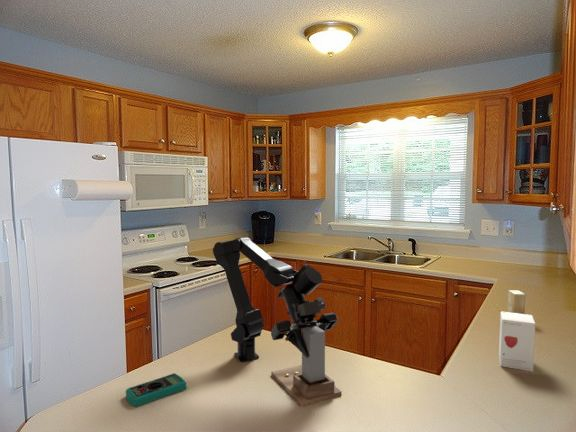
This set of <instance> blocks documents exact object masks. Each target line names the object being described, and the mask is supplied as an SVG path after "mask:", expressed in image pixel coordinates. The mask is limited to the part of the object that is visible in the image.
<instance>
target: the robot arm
mask: <svg viewBox="0 0 576 432" xmlns="http://www.w3.org/2000/svg"><path fill="white" fill-rule="evenodd" d="M212 253H213V256H214V258H215V261H216V262H217V264H218V265H220V267H221V268H223V270H224V273H225V277H226V279H227V283H228V285H229V288H230V292H231V294H232V298H233V303H234V305H235V307H236V316H235V320H234V321H235V325H236V327H235V328H234V330H233V331H232V332H231V333H230V338H231V341H234V342H237V352H234V353H233V355H234V356H235V358H236V359H238V361H239V362H246V361H247V362H248V361H252V360H257V359H259V358H260V356H259V354H258V353H256V338H258V337H260V336H261V334H262V331H263V329H264V328H265V325H264V321H265V320H264V318H263V315H262V311H261V309H260V308H258V309H256V308H255V307H254V306H253V305H252V302H251V299H250V295H249V293H248V290H247V286H246V283H245V280H244V277H243V274H242V271H241V267H240V260H241V259H240V258H241V254H242V255H243V256H245V258H247V259H248V260H249V261H251V262H252V263H253V264H254V265H256V267H257V268H259V269H260V270H261V271H262V272H263V276H264V279H265V280H267V282H268V283H269V284H270V285H271V286H272V287H274V288H278V287H282V286H284V287H283V288H280V289H279V292H278V293H277V298H280V299H282V298H283V299H284V302H285V304H286V305H285V306H286V308H287V310H288V311H287V312H286V314H287V316H288V317H290V319H291V321H290V320H288V319H287V320H286V319H285V320H280V321H277V322H275V324H274V326H273V328H272V329H271V331H270V335H271V339H272V341H277V340H283V339H284V340H285V341H286V342H289V343H291V344H292V345H293V346H294V347H295V348H296V349H297V350H298V351H299V352H300V353H301V355H302V354H303V355H304V356H305V357H306V358H308V357H309V354H308V350H307V348H306V345H305V343H304V340H303V338H302V329H303V328H309V327H314V326H317V327H319V328H320V329H322V330H324V331H325V332H326V331H330V330H332V329H333V328H334V327H335V325H336V324H337V322H339V318H338V316H337V314H336V313H335V312H329V313H323V314H322V310H325V309H326V303H325V300H324V298H323V297H317V298H315V299H314V301H310V300H306V299H307V298H306V297H305V295H307V296H308V295H309V294H311V293H312V292H313V291H314V290H315V289H316V288H317V287H318V286H320V285H321V284H322V282H323V276H322V275H321V273H320V272H319V271H318V270H317V269H316V268H314V267H311V266H310V265H309V264H308V263H307V264H303V265H302V266H301V268H300V269H299V270H296V269H294V268H293V267H292V265H289V264H287V263H285V262H284V261H281V260H277V259H275V258H273V257H272V256H270V255H269V254H268V253H267V252H266V251H264V250H263V249H262V248H261V247H259V246H258V245H256V243H255V242H253V241H252V240H251V238H250V237H247V236H242V237H237V238H234V239H231V240H224V241H218V242H215V243H214V246H213V248H212ZM317 314H321V316H319V318H318V319H315V318H316V317H317ZM291 322H292V323H291ZM284 337H285V338H284Z"/></svg>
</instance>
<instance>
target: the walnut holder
mask: <svg viewBox="0 0 576 432" xmlns="http://www.w3.org/2000/svg"><path fill="white" fill-rule="evenodd" d="M270 373H271V374H270V375H271V377H273V379H275V381H276V382H278V384H280V386H281V387H282V388H284V390H285V391H286V392H287V393H288V394H289V395H290V396H291V397H292V398H293V399H294V400H295V401H296V402H297V404H299V405H300V406H301V407H304V406H307V405H311V404H314V403H318V402H322V401H326V400H329V399H332V398H336V397H340V396H342V392H343V391H341V390H340V389H339V388H338V387H337V386H335V381H334V380H333V379H332V378H331V377H329V376H328V375H327V374H326V373H325V379H323V380H319V381H315V382H311V383H310V382H309V381H308V380H306V379H305V378H304V377H303V376H302V364H299V365H296V366H291V367H286V368H282V369H277V370H273V371H271V372H270Z"/></svg>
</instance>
